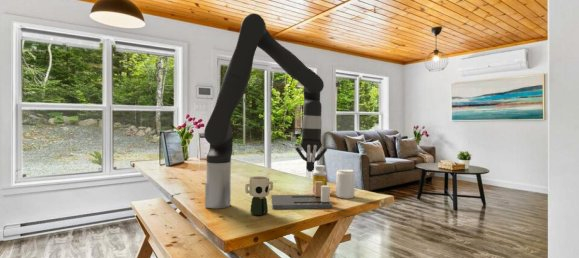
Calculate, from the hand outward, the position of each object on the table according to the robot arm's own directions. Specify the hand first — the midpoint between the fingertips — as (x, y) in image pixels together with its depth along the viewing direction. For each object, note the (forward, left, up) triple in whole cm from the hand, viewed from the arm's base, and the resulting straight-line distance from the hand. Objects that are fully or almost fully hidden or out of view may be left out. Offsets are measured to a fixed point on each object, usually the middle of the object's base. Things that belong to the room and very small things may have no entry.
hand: (310, 171), depth 120 cm
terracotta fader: (+5, +9, -12) cm, 16 cm away
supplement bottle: (+8, +22, -14) cm, 27 cm away
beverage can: (+18, +14, -14) cm, 27 cm away
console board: (-3, +4, -14) cm, 15 cm away
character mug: (-20, -9, -14) cm, 26 cm away
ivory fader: (+6, 0, -12) cm, 13 cm away
